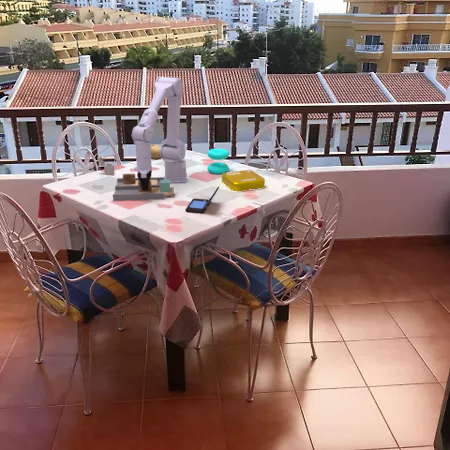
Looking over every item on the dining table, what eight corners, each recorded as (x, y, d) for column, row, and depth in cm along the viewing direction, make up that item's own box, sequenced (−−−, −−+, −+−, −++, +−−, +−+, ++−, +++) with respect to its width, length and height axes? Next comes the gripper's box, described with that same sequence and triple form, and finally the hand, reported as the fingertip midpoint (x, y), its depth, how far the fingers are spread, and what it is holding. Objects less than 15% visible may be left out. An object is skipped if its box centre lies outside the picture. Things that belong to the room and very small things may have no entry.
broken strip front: (138, 182, 205) (137, 171, 203) (137, 188, 198) (136, 177, 196) (124, 182, 205) (123, 171, 203) (122, 188, 198) (122, 177, 196)
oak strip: (173, 188, 198) (173, 177, 196) (174, 195, 192) (173, 184, 190) (139, 189, 197) (139, 178, 195) (138, 196, 190) (138, 184, 188)
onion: (165, 156, 245) (164, 142, 242) (160, 160, 238) (160, 146, 235) (150, 155, 246) (149, 141, 243) (145, 159, 239) (144, 145, 236)
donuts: (233, 150, 221) (220, 155, 213) (232, 170, 225) (220, 176, 217) (215, 146, 226) (203, 151, 218) (215, 166, 230) (203, 172, 223)
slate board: (164, 182, 208) (164, 177, 207) (164, 199, 190) (164, 193, 189) (117, 183, 206) (117, 178, 205) (113, 200, 188) (112, 194, 187)
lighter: (114, 174, 217) (113, 157, 214) (113, 175, 216) (111, 158, 212) (100, 173, 219) (98, 156, 215) (98, 174, 217) (96, 157, 214)
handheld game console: (193, 200, 190) (192, 183, 187) (219, 203, 188) (219, 185, 185) (184, 212, 179) (183, 194, 176) (212, 215, 177) (212, 196, 174)
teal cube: (170, 188, 196) (169, 179, 195) (170, 192, 193) (170, 182, 191) (160, 188, 196) (160, 179, 194) (160, 192, 192) (159, 182, 191)
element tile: (234, 193, 199) (234, 182, 197) (220, 182, 211) (220, 172, 209) (266, 189, 204) (266, 178, 202) (250, 178, 217) (250, 168, 215)
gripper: (134, 151, 194) (136, 183, 199) (132, 162, 180) (134, 195, 186) (151, 151, 194) (153, 182, 200) (151, 161, 181) (152, 195, 187)
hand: (145, 189), depth 193 cm, fingers closed on oak strip, 2 cm apart
